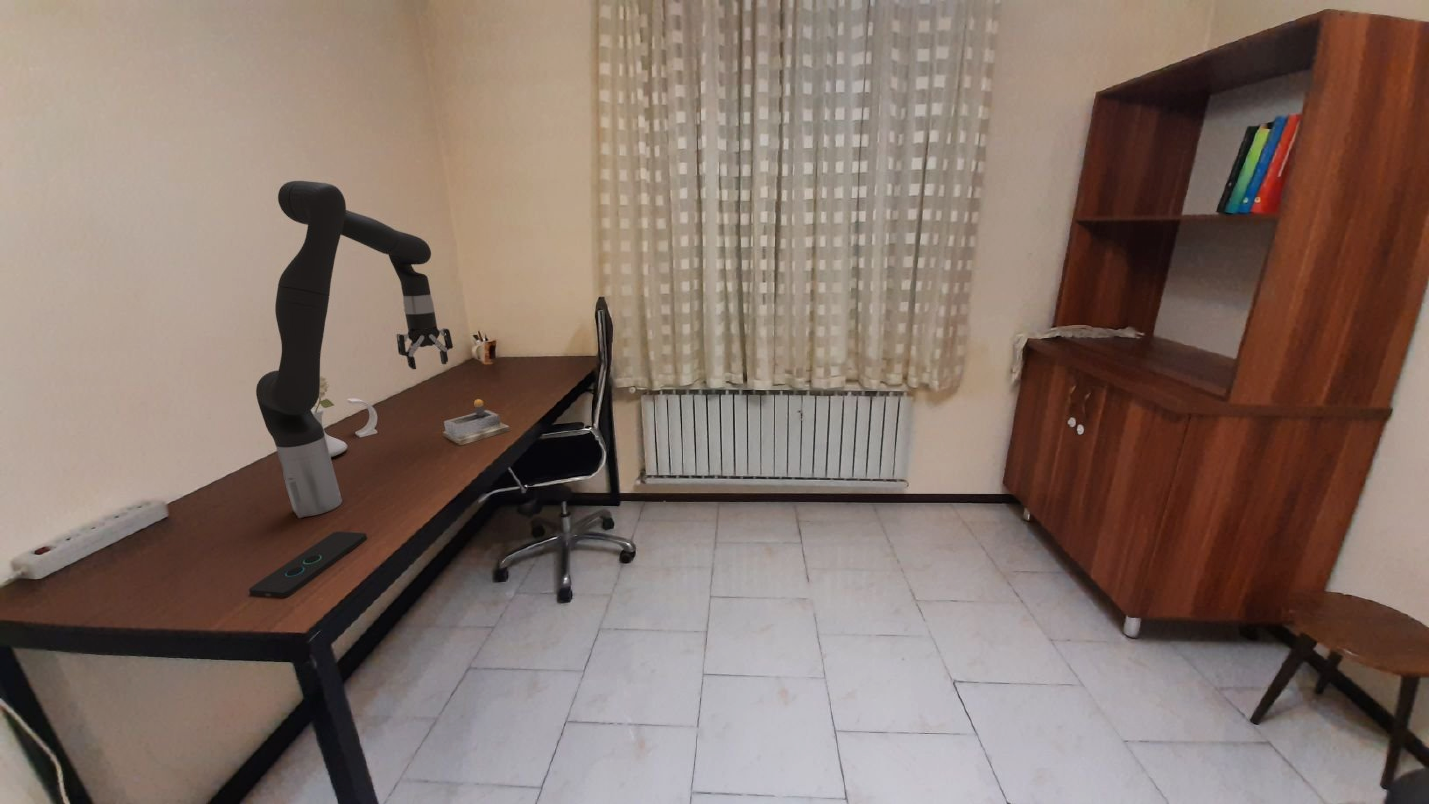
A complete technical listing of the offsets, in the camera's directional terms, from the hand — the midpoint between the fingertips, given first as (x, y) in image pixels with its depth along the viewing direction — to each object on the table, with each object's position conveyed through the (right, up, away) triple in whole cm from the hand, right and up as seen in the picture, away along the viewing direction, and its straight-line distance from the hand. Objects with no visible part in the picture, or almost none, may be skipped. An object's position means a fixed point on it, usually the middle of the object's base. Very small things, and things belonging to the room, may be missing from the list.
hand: (429, 366), depth 163 cm
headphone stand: (-29, -21, +17) cm, 39 cm away
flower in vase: (-30, -26, 0) cm, 40 cm away
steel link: (+7, -19, +13) cm, 24 cm away
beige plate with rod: (+8, -21, +14) cm, 26 cm away
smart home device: (+5, -43, -53) cm, 69 cm away
